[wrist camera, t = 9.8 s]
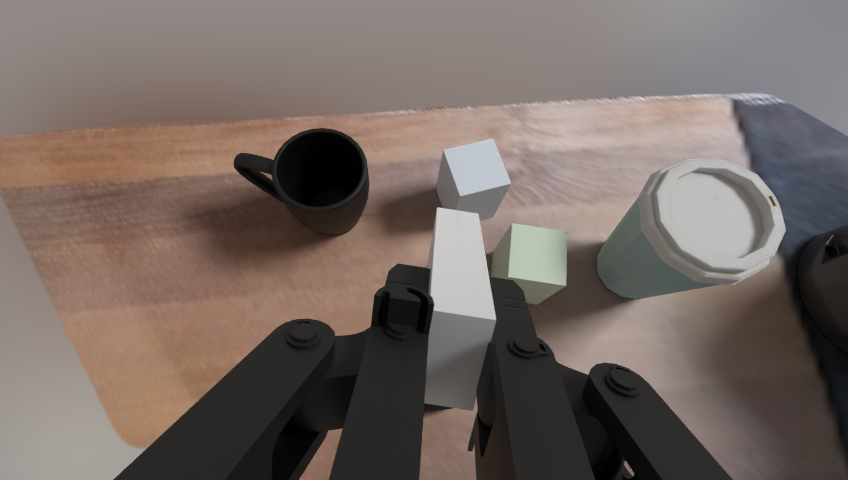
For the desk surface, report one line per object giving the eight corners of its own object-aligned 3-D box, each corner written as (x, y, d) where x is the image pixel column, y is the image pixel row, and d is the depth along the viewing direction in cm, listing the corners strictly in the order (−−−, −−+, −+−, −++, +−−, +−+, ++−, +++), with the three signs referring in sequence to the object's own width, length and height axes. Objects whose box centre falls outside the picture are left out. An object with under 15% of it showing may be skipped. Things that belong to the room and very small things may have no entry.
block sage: (539, 256, 46) (567, 229, 39) (537, 304, 44) (566, 285, 37) (493, 249, 46) (512, 220, 38) (488, 297, 44) (508, 276, 37)
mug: (274, 164, 48) (246, 110, 39) (380, 186, 48) (377, 137, 39) (249, 232, 45) (213, 191, 36) (362, 255, 45) (354, 219, 36)
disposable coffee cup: (592, 324, 44) (685, 290, 30) (562, 227, 47) (633, 155, 33) (687, 307, 45) (820, 266, 31) (651, 214, 49) (755, 139, 35)
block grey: (477, 176, 49) (492, 136, 41) (492, 217, 47) (511, 183, 40) (435, 186, 48) (442, 147, 41) (449, 228, 46) (460, 196, 39)
